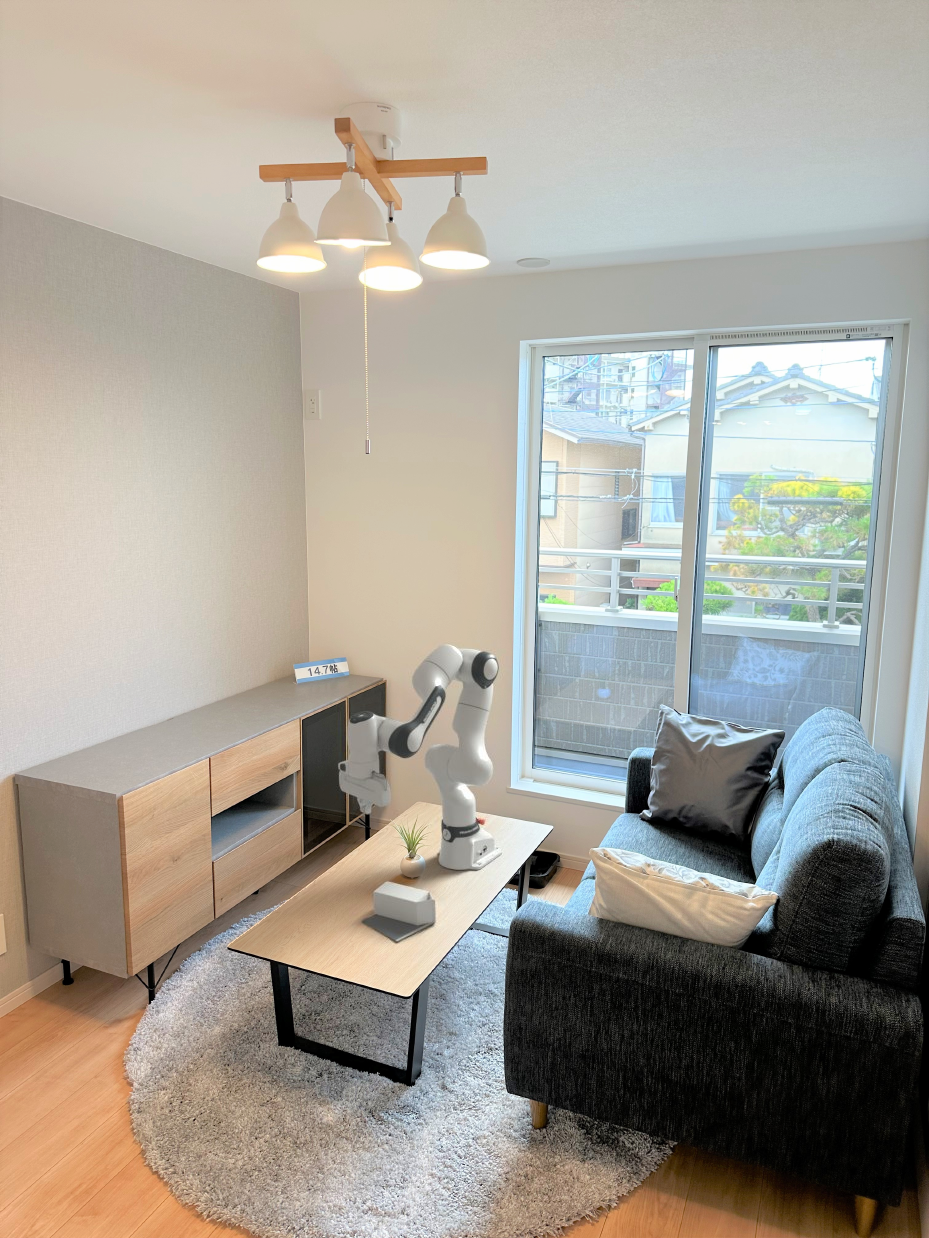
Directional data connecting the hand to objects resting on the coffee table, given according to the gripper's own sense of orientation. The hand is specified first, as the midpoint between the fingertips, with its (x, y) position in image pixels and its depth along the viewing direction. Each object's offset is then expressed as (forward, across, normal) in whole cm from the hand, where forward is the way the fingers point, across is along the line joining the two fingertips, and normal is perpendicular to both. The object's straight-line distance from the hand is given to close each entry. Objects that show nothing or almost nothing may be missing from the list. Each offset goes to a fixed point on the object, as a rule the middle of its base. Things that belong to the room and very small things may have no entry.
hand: (365, 812), depth 244 cm
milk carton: (+25, -4, 0) cm, 26 cm away
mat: (+29, -14, +1) cm, 33 cm away
